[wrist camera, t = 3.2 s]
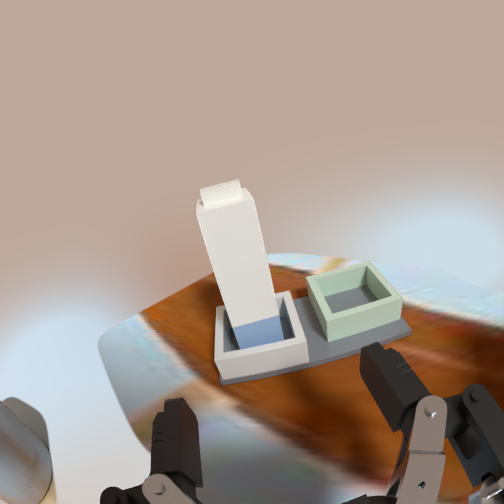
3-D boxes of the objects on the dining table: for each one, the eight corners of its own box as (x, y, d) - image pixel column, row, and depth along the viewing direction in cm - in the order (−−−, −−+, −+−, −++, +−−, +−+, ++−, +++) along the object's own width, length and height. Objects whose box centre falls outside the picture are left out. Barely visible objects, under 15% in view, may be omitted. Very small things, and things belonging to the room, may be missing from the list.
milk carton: (244, 362, 22) (191, 198, 16) (239, 334, 25) (193, 187, 19) (286, 350, 22) (250, 182, 16) (276, 324, 26) (242, 174, 20)
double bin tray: (221, 385, 21) (210, 362, 20) (221, 320, 29) (213, 297, 28) (410, 334, 21) (415, 308, 19) (371, 283, 29) (371, 259, 27)
